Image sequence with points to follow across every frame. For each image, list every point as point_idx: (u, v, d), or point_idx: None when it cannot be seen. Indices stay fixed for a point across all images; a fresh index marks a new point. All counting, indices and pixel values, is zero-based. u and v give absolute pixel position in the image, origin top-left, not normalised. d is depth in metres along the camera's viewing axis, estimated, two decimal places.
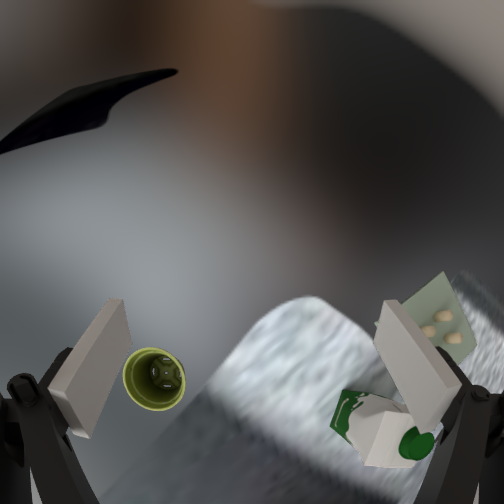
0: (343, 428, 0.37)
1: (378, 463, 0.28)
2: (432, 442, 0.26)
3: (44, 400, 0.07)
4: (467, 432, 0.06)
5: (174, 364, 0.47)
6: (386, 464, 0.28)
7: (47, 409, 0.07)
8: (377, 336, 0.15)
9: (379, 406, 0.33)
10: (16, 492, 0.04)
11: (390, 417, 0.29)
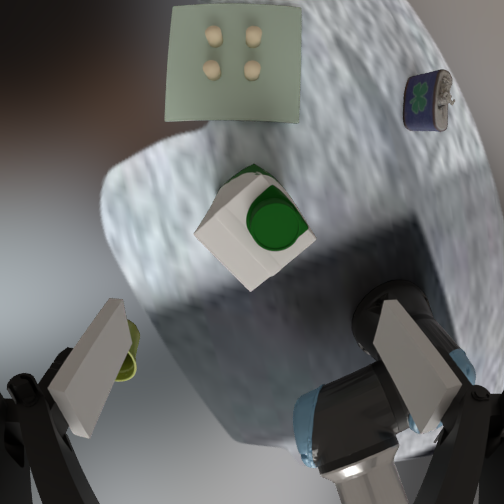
0: None
1: (262, 276, 0.28)
2: (286, 209, 0.23)
3: (44, 400, 0.07)
4: (467, 432, 0.06)
5: None
6: (273, 268, 0.27)
7: (47, 409, 0.07)
8: (377, 336, 0.15)
9: None
10: (16, 492, 0.04)
11: (207, 233, 0.26)
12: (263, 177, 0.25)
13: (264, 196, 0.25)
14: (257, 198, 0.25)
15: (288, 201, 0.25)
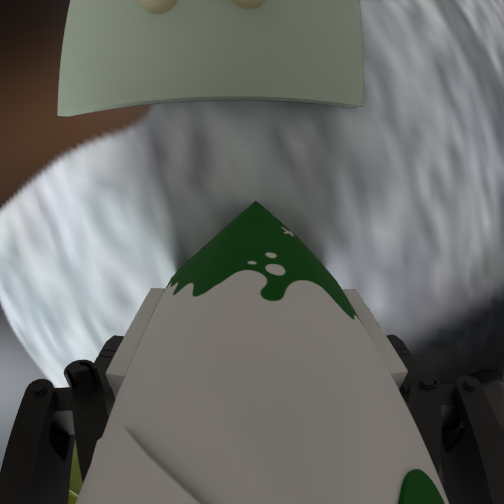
0: None
1: None
2: None
3: (102, 388, 0.08)
4: (418, 423, 0.07)
5: None
6: None
7: (104, 398, 0.08)
8: None
9: None
10: (54, 486, 0.05)
11: None
12: None
13: None
14: None
15: None
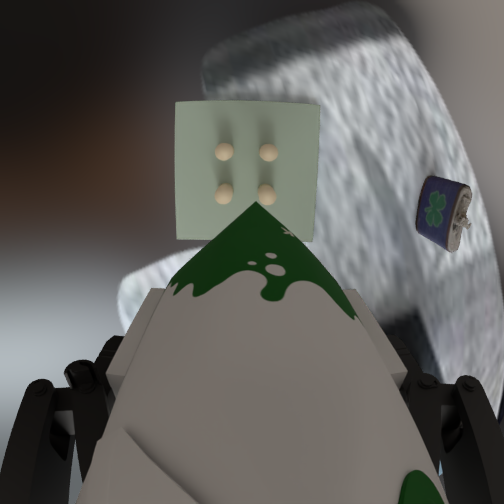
0: None
1: None
2: None
3: (102, 388, 0.08)
4: (418, 423, 0.07)
5: None
6: None
7: (104, 398, 0.08)
8: None
9: None
10: (54, 486, 0.05)
11: None
12: None
13: None
14: None
15: None
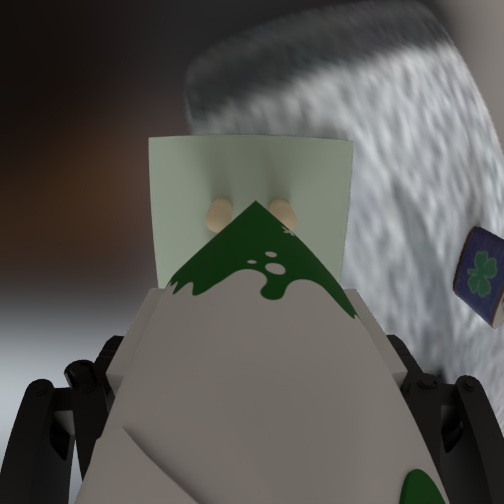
0: None
1: None
2: None
3: (102, 388, 0.08)
4: (418, 423, 0.07)
5: None
6: None
7: (104, 398, 0.08)
8: None
9: None
10: (54, 486, 0.05)
11: None
12: None
13: None
14: None
15: None
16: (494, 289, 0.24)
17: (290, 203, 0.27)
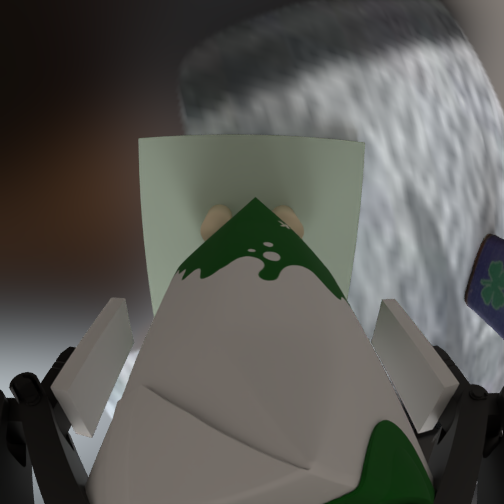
0: None
1: None
2: None
3: (47, 399, 0.07)
4: (465, 431, 0.06)
5: None
6: None
7: (50, 408, 0.07)
8: (375, 335, 0.15)
9: None
10: (18, 491, 0.05)
11: None
12: (323, 475, 0.03)
13: None
14: None
15: (413, 499, 0.04)
16: None
17: (295, 211, 0.24)
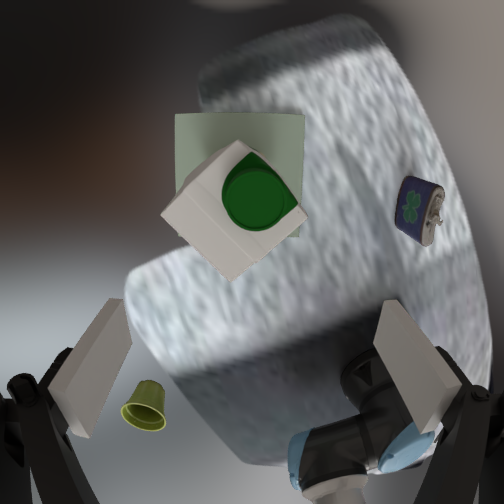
0: None
1: (244, 263, 0.23)
2: (268, 178, 0.19)
3: (44, 400, 0.07)
4: (467, 432, 0.06)
5: None
6: (257, 253, 0.23)
7: (47, 409, 0.07)
8: (377, 336, 0.15)
9: None
10: (16, 492, 0.04)
11: (176, 212, 0.21)
12: (240, 143, 0.20)
13: (242, 166, 0.20)
14: (233, 168, 0.20)
15: (272, 171, 0.20)
16: (419, 215, 0.39)
17: (264, 154, 0.41)
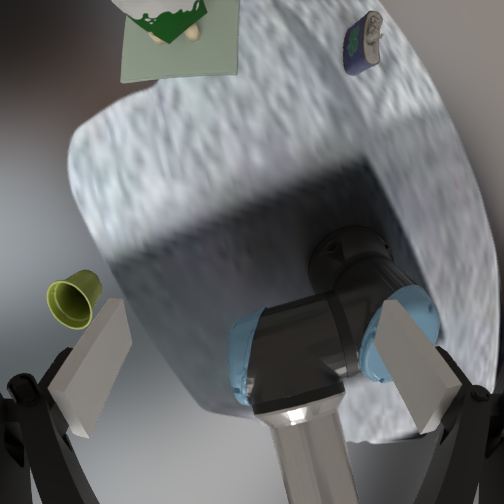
0: (136, 21, 0.25)
1: None
2: None
3: (44, 400, 0.07)
4: (467, 432, 0.06)
5: None
6: None
7: (47, 409, 0.07)
8: (377, 336, 0.15)
9: None
10: (16, 492, 0.04)
11: None
12: None
13: None
14: None
15: None
16: (359, 38, 0.32)
17: None
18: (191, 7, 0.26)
